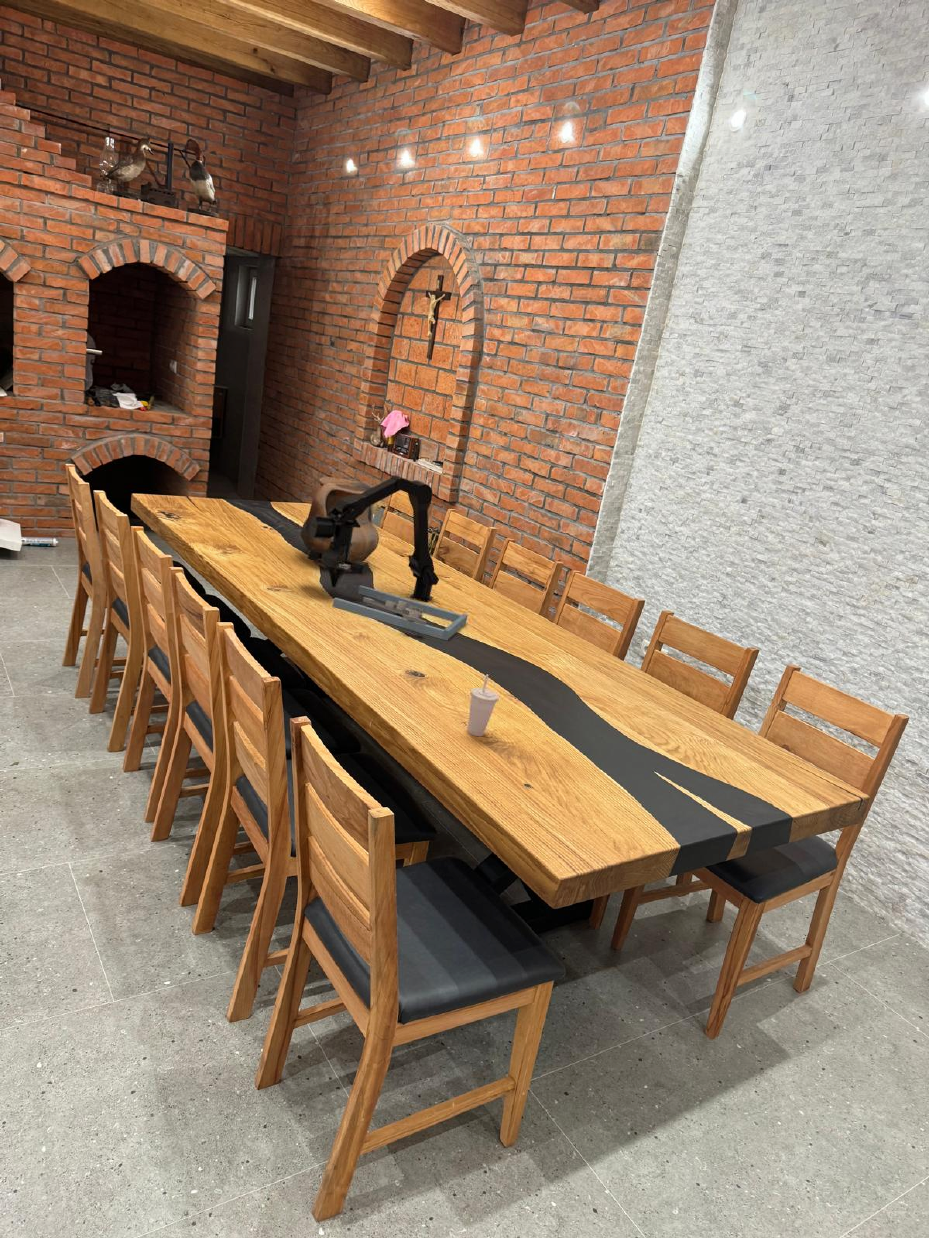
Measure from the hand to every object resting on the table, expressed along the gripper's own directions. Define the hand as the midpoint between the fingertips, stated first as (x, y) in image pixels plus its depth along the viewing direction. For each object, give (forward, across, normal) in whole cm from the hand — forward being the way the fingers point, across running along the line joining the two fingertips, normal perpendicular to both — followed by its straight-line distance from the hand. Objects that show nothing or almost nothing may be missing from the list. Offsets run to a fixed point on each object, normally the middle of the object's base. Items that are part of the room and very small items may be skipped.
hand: (333, 587), depth 258 cm
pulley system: (+1, +25, -6) cm, 26 cm away
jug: (+3, -15, +35) cm, 38 cm away
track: (+3, +23, 0) cm, 24 cm away
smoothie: (+3, +66, -65) cm, 93 cm away
